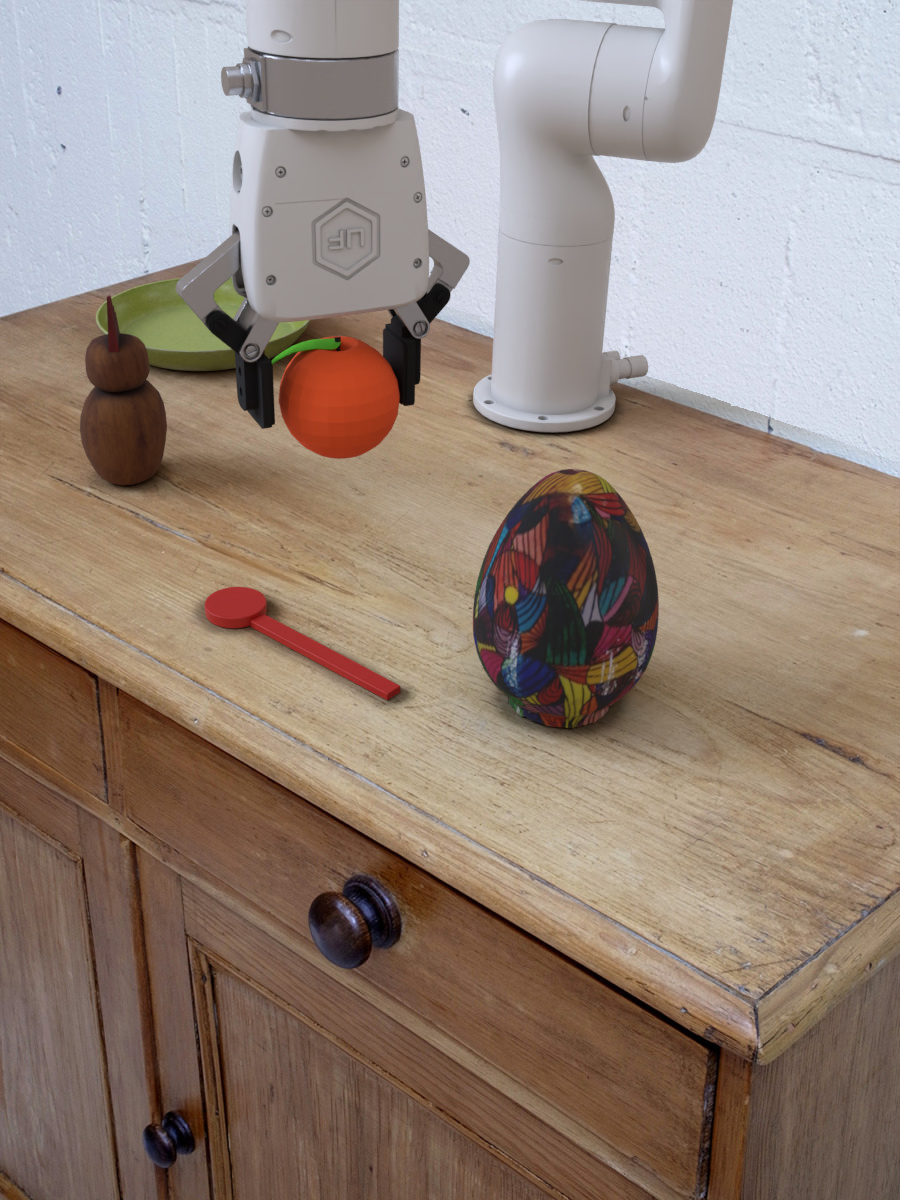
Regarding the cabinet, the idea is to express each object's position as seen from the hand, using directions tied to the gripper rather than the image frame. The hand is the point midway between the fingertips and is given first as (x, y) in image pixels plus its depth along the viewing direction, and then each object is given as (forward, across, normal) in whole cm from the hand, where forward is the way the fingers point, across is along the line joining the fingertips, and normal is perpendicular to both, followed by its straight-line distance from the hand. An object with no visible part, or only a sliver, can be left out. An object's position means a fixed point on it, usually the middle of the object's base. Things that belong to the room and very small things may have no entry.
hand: (330, 406), depth 76 cm
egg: (+16, +10, -11) cm, 22 cm away
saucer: (+16, +8, +54) cm, 57 cm away
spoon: (+16, -2, 0) cm, 16 cm away
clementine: (+3, 0, 0) cm, 3 cm away
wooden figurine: (+16, -6, +28) cm, 33 cm away
